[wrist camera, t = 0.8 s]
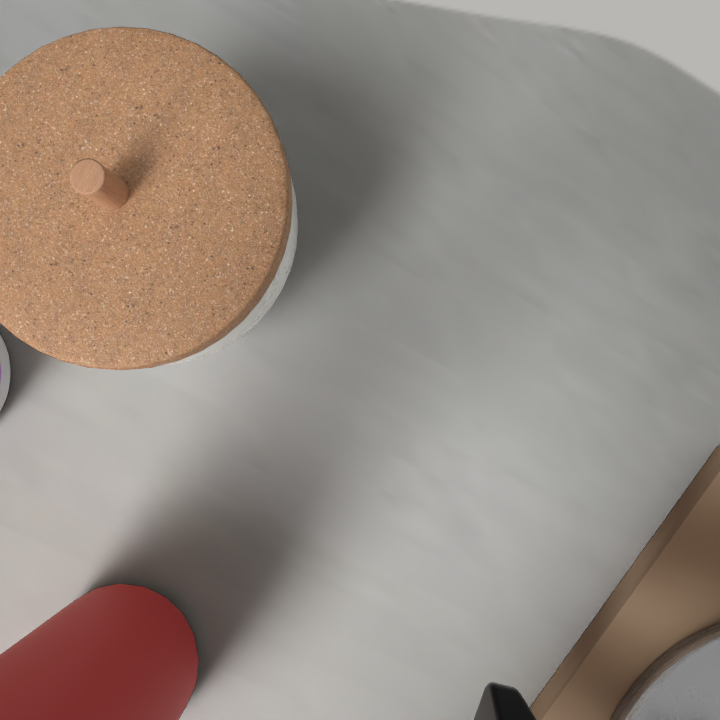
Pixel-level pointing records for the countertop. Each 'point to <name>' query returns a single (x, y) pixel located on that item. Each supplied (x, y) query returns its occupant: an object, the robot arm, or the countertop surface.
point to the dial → (678, 683)
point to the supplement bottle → (4, 372)
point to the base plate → (646, 609)
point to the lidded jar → (138, 201)
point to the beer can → (103, 661)
